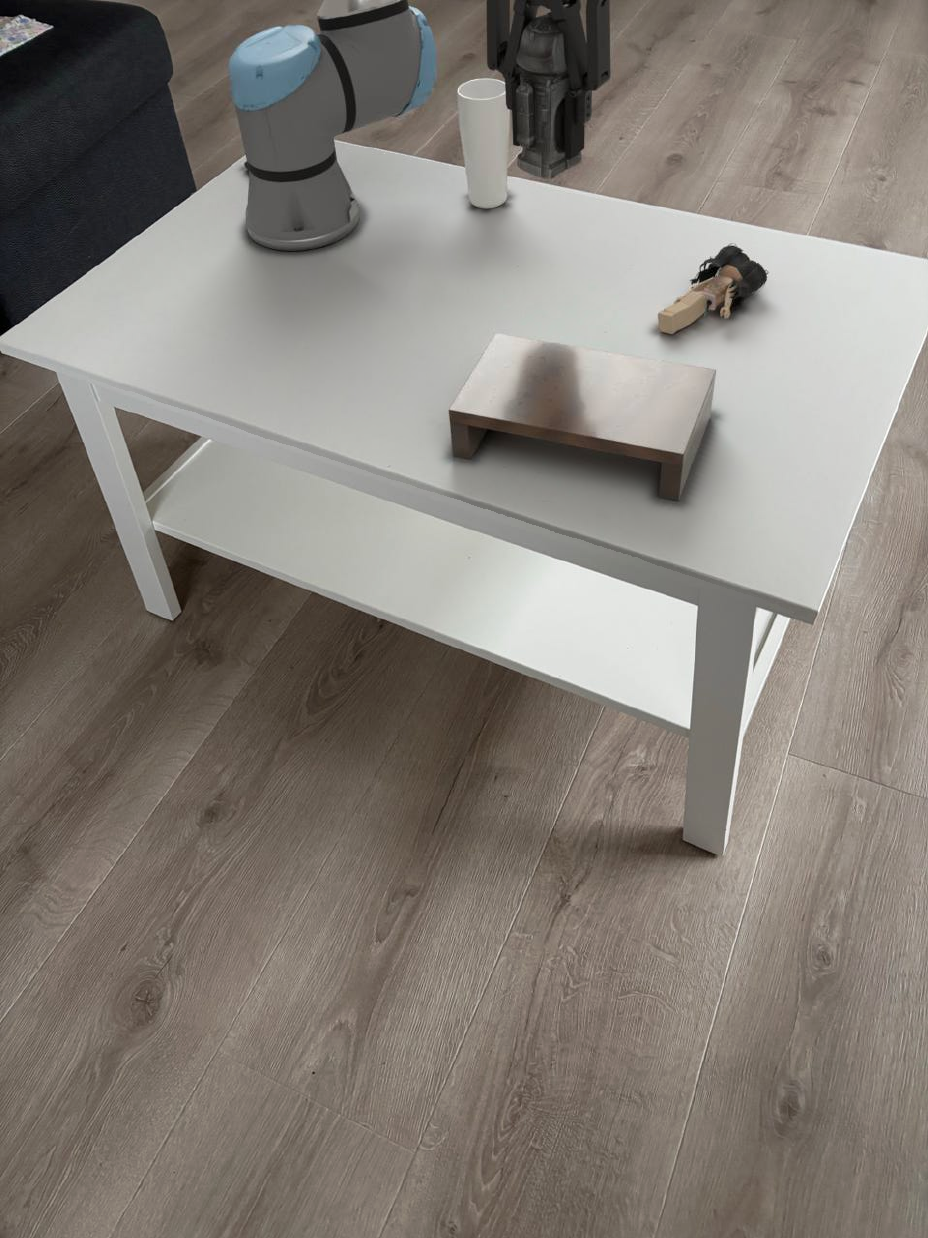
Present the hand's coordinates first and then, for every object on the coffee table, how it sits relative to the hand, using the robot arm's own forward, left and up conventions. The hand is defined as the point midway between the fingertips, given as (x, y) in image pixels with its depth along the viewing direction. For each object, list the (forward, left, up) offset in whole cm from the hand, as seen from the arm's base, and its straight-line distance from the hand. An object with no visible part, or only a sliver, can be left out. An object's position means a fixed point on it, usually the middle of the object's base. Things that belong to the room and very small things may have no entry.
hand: (548, 145), depth 115 cm
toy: (0, 0, -2) cm, 2 cm away
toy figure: (+15, +12, -20) cm, 28 cm away
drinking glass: (-24, +17, -20) cm, 36 cm away
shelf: (+17, -16, -20) cm, 31 cm away
